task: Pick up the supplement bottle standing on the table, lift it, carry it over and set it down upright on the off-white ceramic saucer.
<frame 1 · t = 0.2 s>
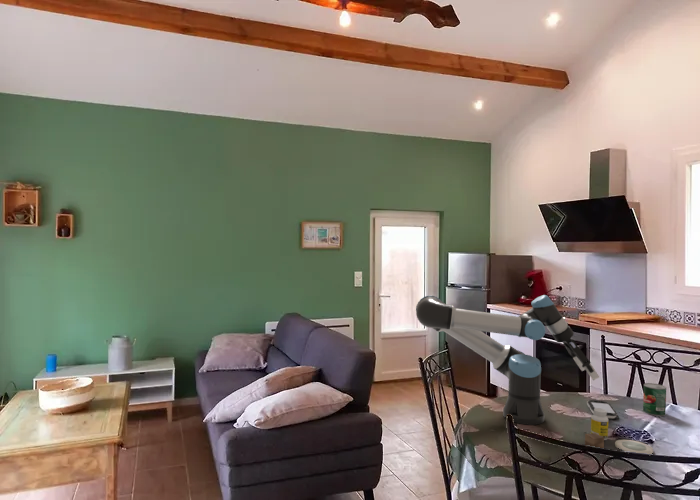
hand: (590, 373, 200), 15 cm above the table, tool tilted 35°, fingers open, 13 cm apart
gaming console: (601, 412, 200), on the table
saucer: (633, 448, 164), on the table
supplement bottle: (599, 438, 172), on the table
canned tomato: (654, 413, 200), on the table
walnut block: (594, 447, 164), on the table
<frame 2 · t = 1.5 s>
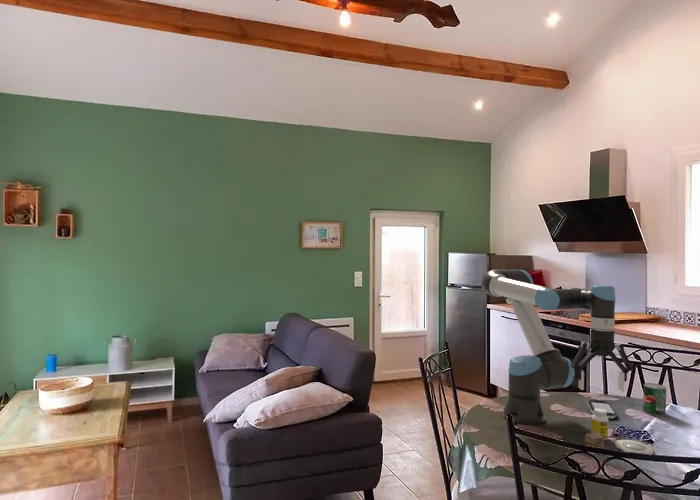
hand: (601, 389, 173), 17 cm above the table, tool pointing down, fingers open, 13 cm apart
nothing on the table moved.
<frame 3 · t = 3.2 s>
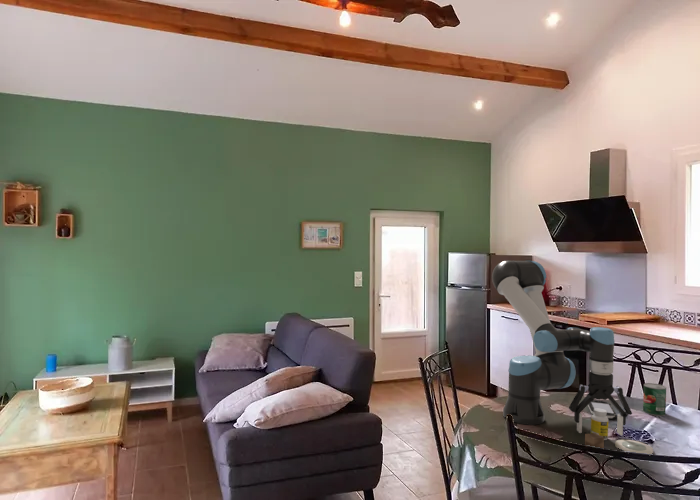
hand: (599, 432, 172), 2 cm above the table, tool pointing down, fingers open, 13 cm apart
nothing on the table moved.
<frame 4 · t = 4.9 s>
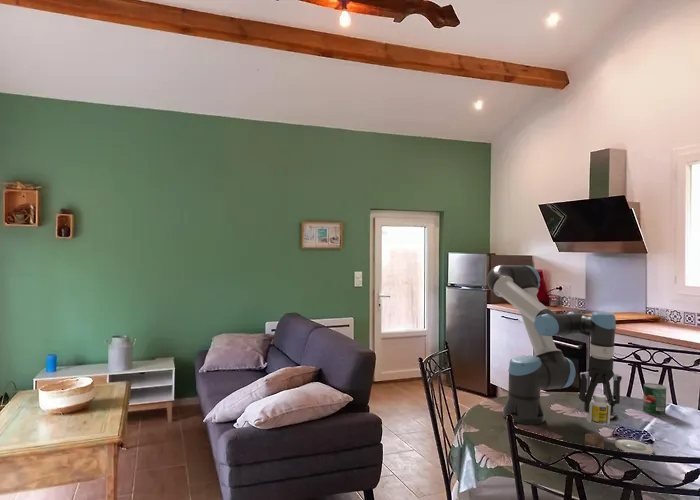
hand: (597, 421, 173), 5 cm above the table, tool pointing down, fingers closed on supplement bottle, 5 cm apart
supplement bottle: (597, 423, 173), point 5 cm above the table, touching gripper
everything else where it was.
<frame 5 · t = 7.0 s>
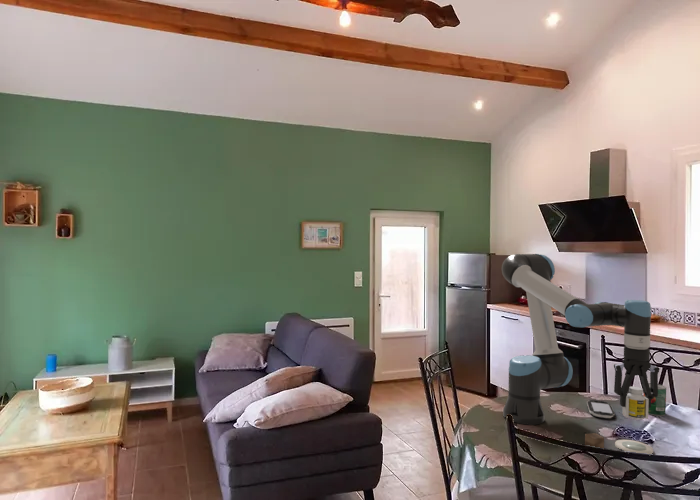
hand: (635, 416, 163), 11 cm above the table, tool pointing down, fingers closed on supplement bottle, 5 cm apart
supplement bottle: (635, 418, 163), point 10 cm above the table, touching gripper
everything else where it was.
when the fingers open (2 cm above the table, at t = 9.2 s): supplement bottle stays where it is, resting on saucer.
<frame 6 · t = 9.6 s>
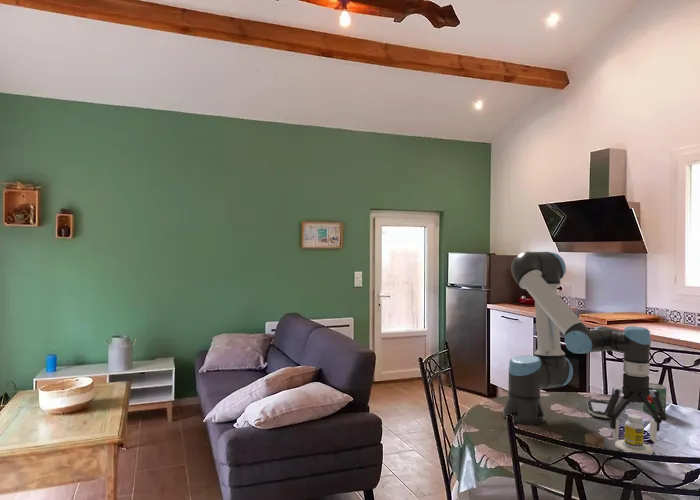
hand: (634, 439, 164), 3 cm above the table, tool pointing down, fingers open, 11 cm apart
supplement bottle: (633, 446, 164), point 1 cm above the table, touching saucer
everything else where it was.
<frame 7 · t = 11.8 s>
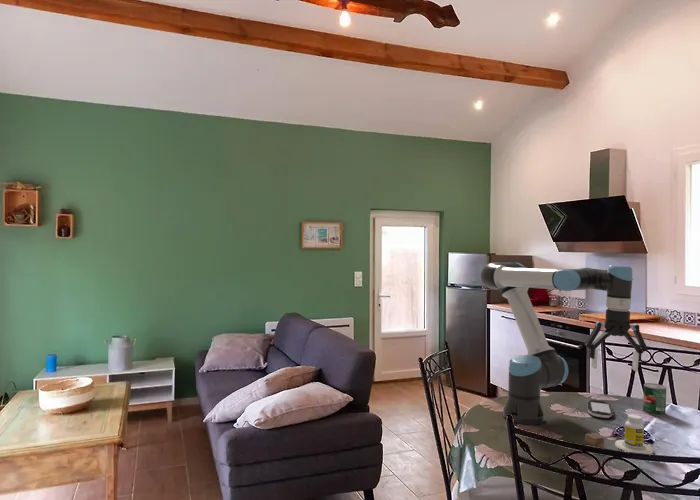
hand: (614, 369, 174), 24 cm above the table, tool pointing down, fingers open, 13 cm apart
nothing on the table moved.
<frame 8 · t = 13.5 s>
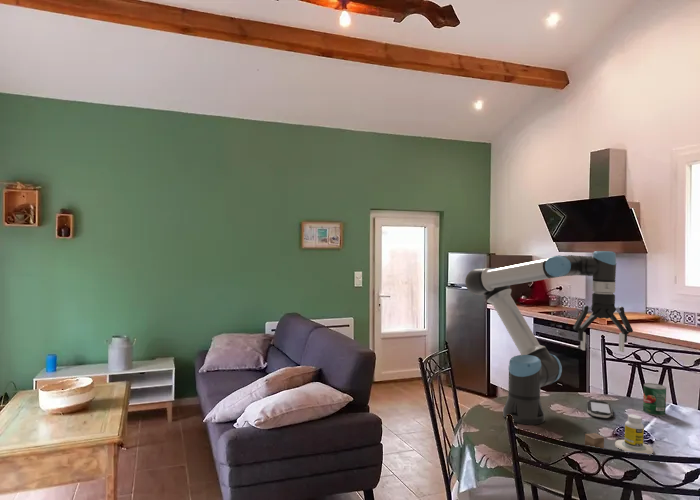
hand: (602, 350, 182), 29 cm above the table, tool pointing down, fingers open, 13 cm apart
nothing on the table moved.
at the end: supplement bottle inside the target area on the saucer (0.1 cm from its centre), point 0.8 cm above the saucer's base; supplement bottle tilted 0°; the gripper is holding nothing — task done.
